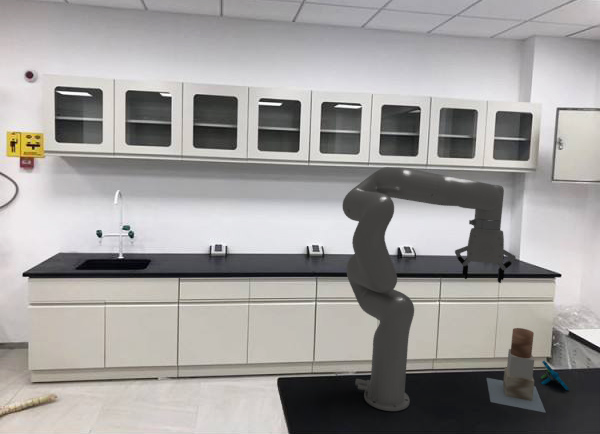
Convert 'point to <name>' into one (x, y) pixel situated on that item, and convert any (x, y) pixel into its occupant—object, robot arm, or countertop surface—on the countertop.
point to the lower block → (518, 387)
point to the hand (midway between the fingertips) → (482, 279)
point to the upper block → (520, 366)
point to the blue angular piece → (552, 376)
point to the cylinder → (522, 343)
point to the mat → (499, 397)
